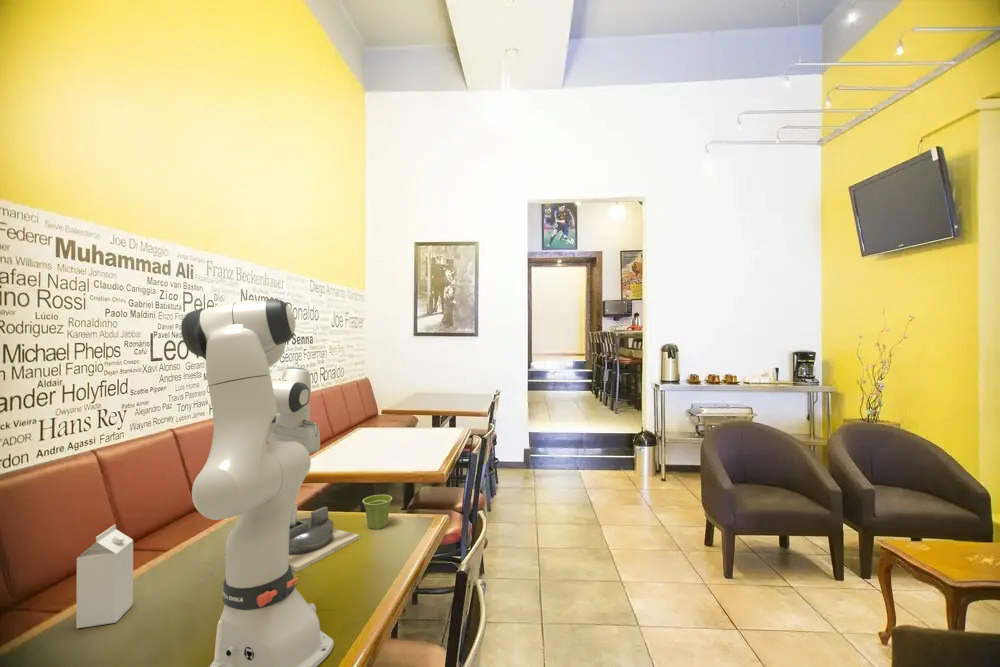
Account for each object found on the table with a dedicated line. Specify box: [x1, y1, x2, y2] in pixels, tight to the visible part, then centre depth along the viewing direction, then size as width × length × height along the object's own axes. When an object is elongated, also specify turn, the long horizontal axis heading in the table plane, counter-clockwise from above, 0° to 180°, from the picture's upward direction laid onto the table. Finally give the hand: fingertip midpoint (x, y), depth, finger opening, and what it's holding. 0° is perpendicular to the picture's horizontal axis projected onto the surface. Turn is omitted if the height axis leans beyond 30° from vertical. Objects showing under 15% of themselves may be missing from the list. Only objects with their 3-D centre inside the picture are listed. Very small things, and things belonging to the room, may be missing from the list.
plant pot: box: [362, 494, 393, 530], centre depth 146 cm, size 9×9×9 cm
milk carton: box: [75, 523, 134, 629], centre depth 99 cm, size 7×7×19 cm
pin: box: [290, 503, 298, 529], centre depth 127 cm, size 3×3×8 cm
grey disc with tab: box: [289, 506, 334, 554], centre depth 132 cm, size 16×16×8 cm
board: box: [289, 527, 361, 573], centre depth 131 cm, size 22×22×1 cm
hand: (292, 462), depth 140 cm, fingers open, 8 cm apart
